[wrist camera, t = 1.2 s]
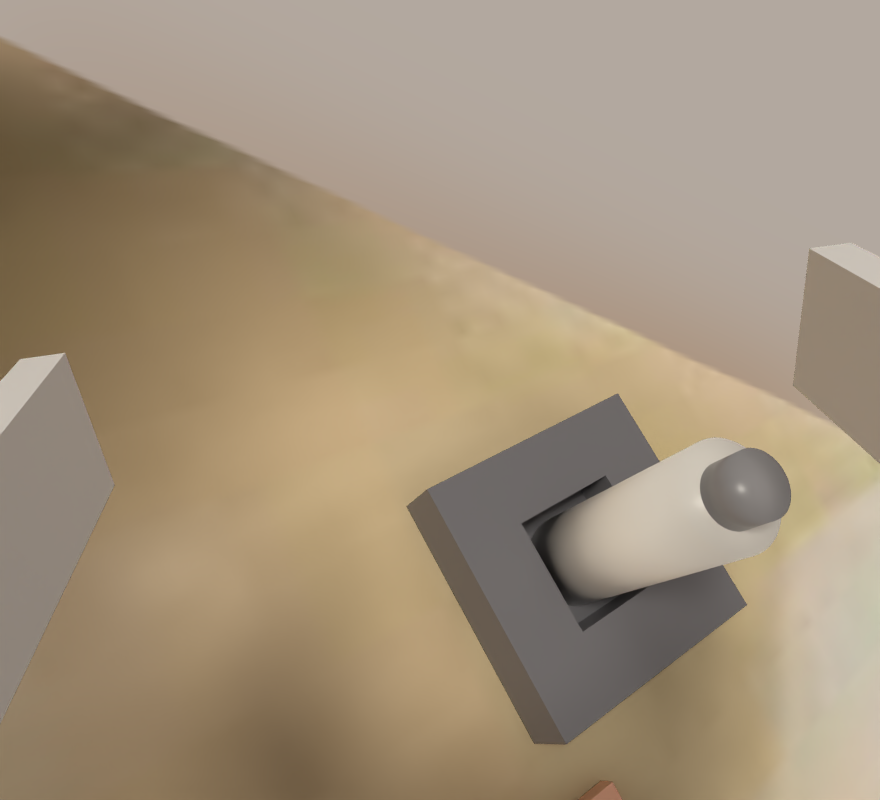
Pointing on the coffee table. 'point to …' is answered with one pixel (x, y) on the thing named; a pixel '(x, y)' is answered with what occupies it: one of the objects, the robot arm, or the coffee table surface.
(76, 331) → the coffee table surface
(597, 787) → the tile
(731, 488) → the plug
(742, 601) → the socket block
